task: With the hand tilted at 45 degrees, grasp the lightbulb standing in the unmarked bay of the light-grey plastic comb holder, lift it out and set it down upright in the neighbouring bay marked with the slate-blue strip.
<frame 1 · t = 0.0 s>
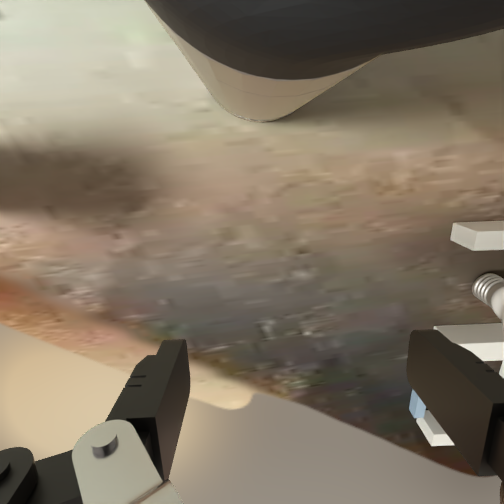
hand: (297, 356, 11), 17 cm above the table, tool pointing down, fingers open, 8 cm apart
comb holder: (465, 333, 31), on the table
lightbulb: (479, 282, 30), on the table
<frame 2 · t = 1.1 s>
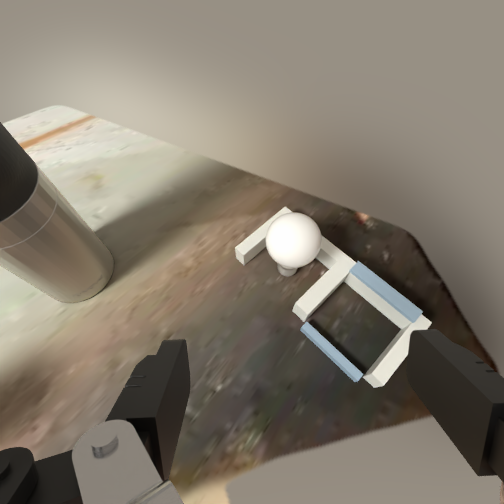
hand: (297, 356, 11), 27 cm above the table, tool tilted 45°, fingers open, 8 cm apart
comb holder: (315, 299, 40), on the table
lightbulb: (286, 270, 43), on the table
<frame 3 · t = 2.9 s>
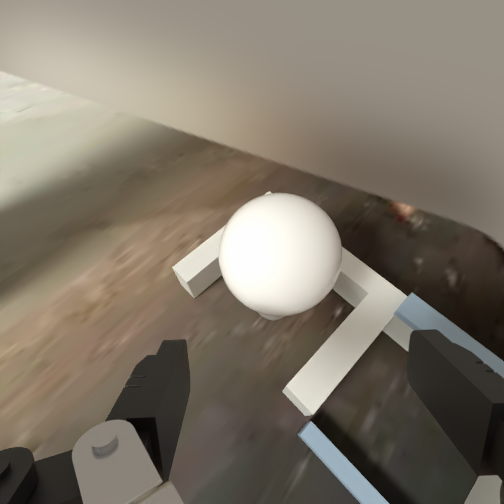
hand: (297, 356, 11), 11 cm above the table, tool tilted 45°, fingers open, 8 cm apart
comb holder: (326, 365, 21), on the table
lightbulb: (272, 306, 23), on the table
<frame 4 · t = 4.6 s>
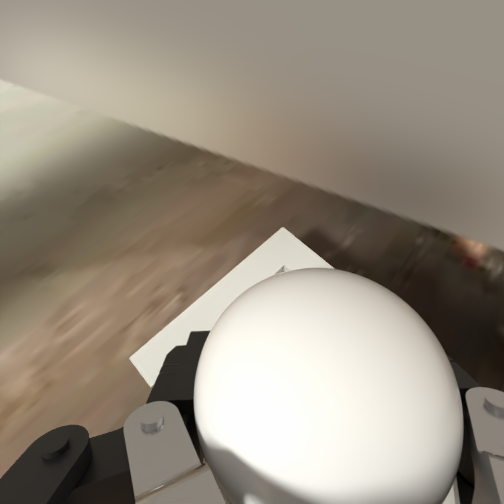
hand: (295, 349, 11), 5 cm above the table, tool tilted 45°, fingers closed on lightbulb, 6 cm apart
lightbulb: (288, 407, 15), on the table, touching gripper
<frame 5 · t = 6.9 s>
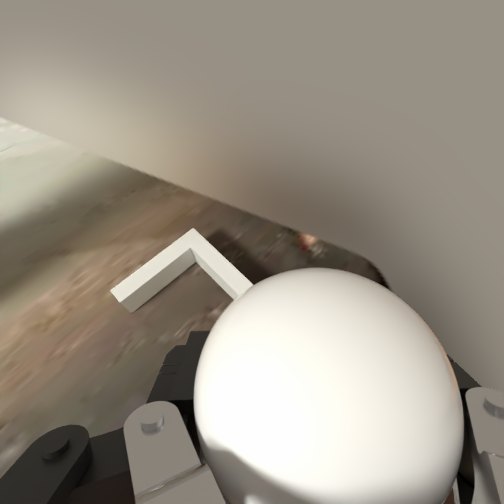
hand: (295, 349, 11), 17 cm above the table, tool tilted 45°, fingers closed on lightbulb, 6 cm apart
comb holder: (226, 366, 27), on the table
lightbulb: (288, 407, 15), point 12 cm above the table, touching gripper
when the fingers open (6 cm above the table, at t = 9.5 s): lightbulb stays where it is, on the table.
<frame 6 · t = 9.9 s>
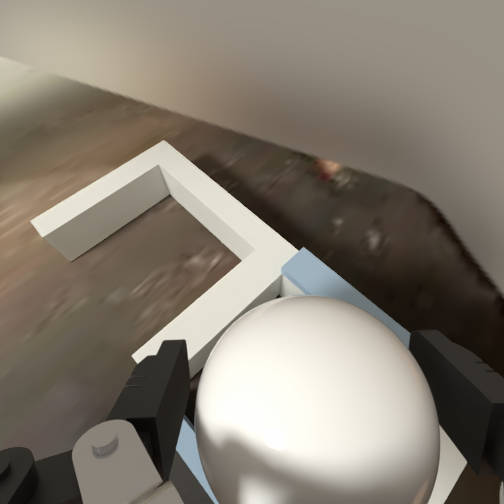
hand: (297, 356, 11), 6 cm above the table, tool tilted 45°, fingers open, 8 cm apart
comb holder: (209, 337, 18), on the table
lightbulb: (286, 413, 16), on the table
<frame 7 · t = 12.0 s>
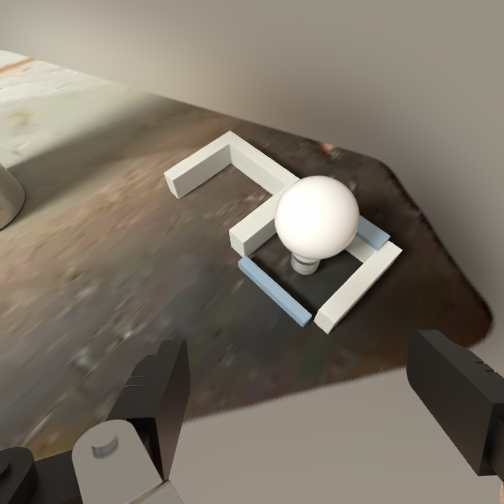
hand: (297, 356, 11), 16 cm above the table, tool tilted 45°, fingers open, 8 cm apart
comb holder: (261, 233, 33), on the table
lightbulb: (303, 266, 31), on the table
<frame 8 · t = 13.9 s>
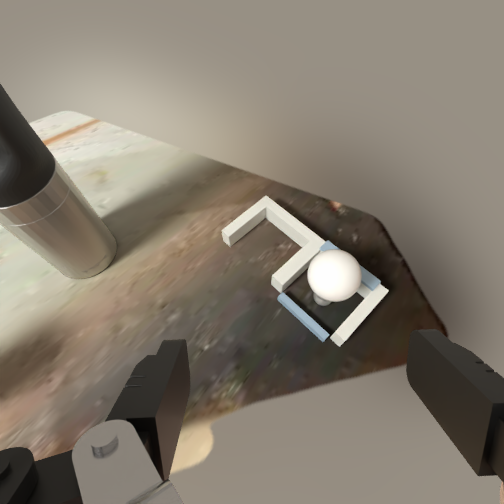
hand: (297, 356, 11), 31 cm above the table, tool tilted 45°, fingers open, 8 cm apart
comb holder: (291, 274, 46), on the table
lightbulb: (321, 299, 45), on the table
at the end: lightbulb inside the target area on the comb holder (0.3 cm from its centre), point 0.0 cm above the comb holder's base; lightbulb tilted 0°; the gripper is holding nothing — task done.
